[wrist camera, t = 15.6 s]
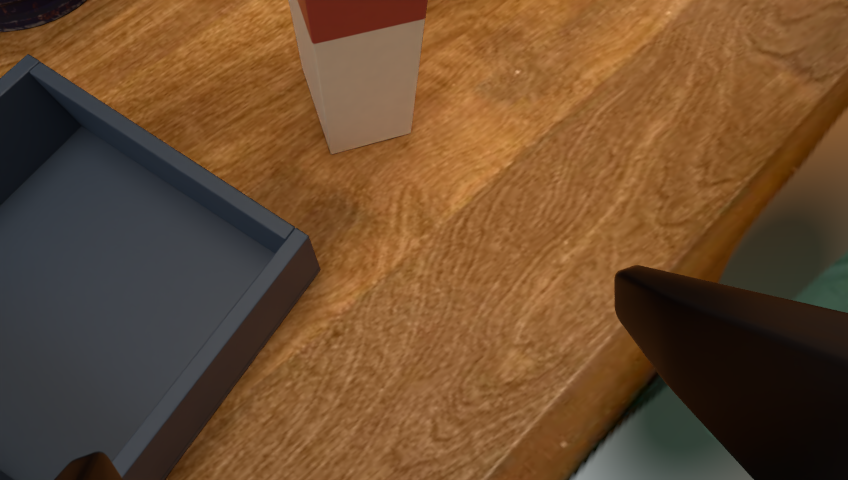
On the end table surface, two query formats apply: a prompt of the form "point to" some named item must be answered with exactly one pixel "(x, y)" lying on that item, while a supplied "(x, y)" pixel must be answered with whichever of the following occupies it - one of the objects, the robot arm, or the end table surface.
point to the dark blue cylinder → (33, 12)
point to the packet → (360, 66)
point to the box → (122, 284)
